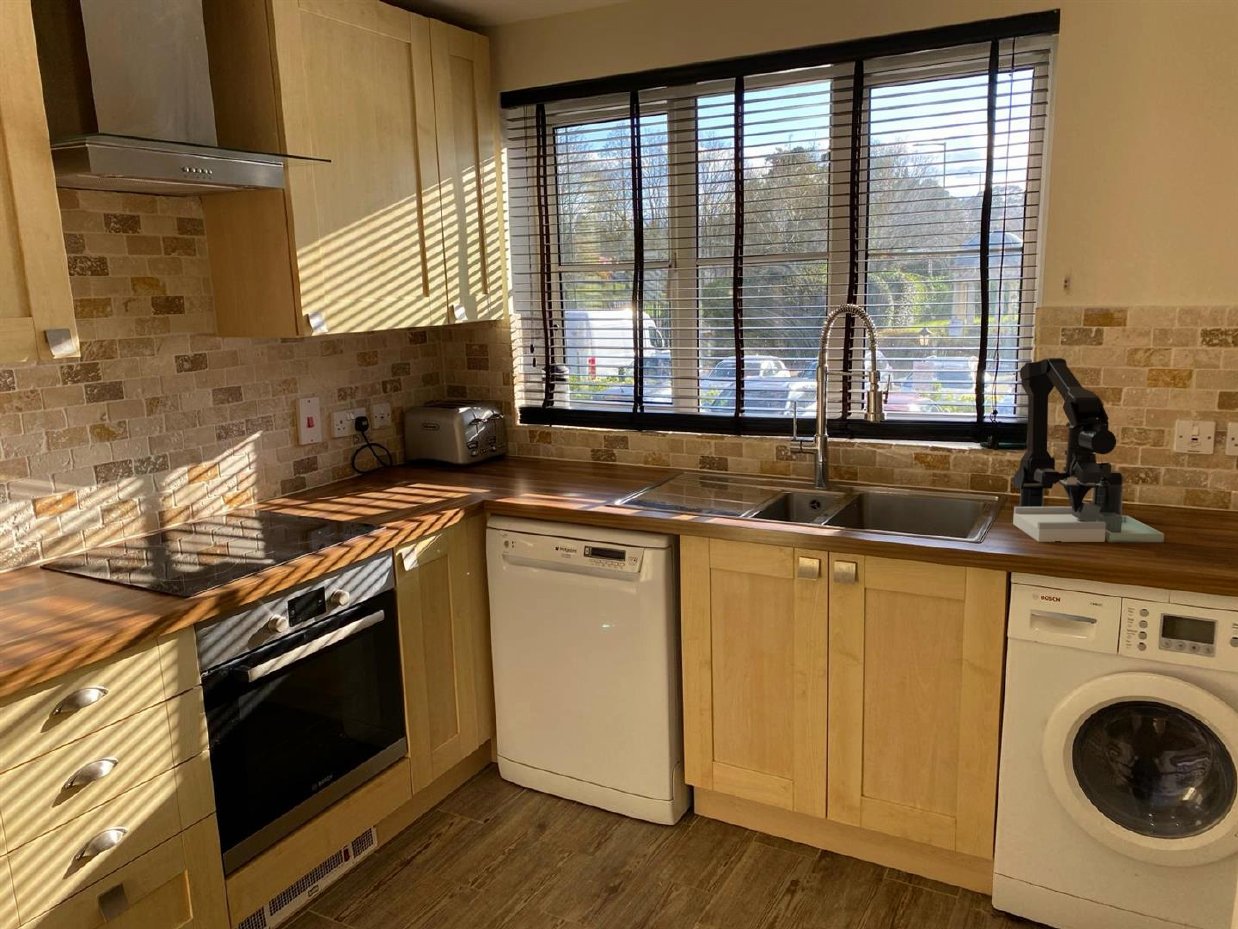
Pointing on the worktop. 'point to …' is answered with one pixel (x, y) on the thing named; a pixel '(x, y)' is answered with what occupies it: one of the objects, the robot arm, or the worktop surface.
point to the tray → (1134, 532)
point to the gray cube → (1111, 521)
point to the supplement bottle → (1108, 497)
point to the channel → (1057, 525)
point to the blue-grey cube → (1087, 512)
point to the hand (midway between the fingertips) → (1074, 511)
